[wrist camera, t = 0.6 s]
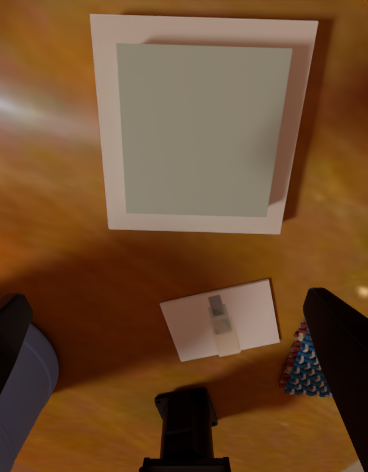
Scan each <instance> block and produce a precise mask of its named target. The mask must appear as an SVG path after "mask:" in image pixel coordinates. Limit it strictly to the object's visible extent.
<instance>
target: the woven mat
mask: <svg viewBox="0 0 368 472" xmlns="http://www.w3.org/2000/svg"><path fill="white" fill-rule="evenodd" d="M306 327H307V323H306V320H305V318H304V319H303V321H302V322H301V325H300V328H299V330H298V331H299V332H297V333H295V334H294V336H295V337H296V340H295V342H294V345H291V349H292V351H291V352H290V356H289V358H288V361H287V363H286V365H284V366H283V369H284V373H283V375H282V377H281V378H280V380H281V382H280V383H279V387H285V390H284V392H285V393H289V394H290V395H292V394H294V393H295V394H296V395H300V394H302V396H303V395H305V394H307V395H309V397H311V396H313V395H315V394H316V395H315V397H317V396H320V397H325V396H326V395H328V396H326V397H333V396H332V393H331V391H330V389H329V386H328V384H327V382H326V379H325V377H324V374H323V372H322V370H321V367H320V365H319V362H318V359H317V356H316V353H315V350H314V347H313V343H312V340H311V337H310V333H309V330H308V327H307V329H306ZM299 345H301V346H299ZM295 356H297V358H295ZM293 362H294V363H293ZM284 382H285V383H284ZM287 387H289V388H287ZM302 392H303V393H302Z"/></svg>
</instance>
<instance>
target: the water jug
mask: <svg viewBox="0 0 368 472" xmlns="http://www.w3.org/2000/svg"><path fill="white" fill-rule="evenodd" d="M58 375H59V365H58V360H57V356H56V354H55V351H54V349H53V347H52V346H51V344H50V342H49V341H48V340H47V338H46V337H45V336H44V335H43V334H42V333H41V332H40V331H39V330H38V329H37V328H36V327H35V326H34V325H32V324H31V323H30V325H29V328H28V331H27V333H26V336H25V339H24V342H23V344H22V347H21V350H20V352H19V355H18V358H17V360H16V363H15V365H14V367H13V370H12V372H11V374H10V376H9V378H8V380H7V382H6V384H5V387H4V389H3V391H2V393H1V395H0V472H10V471H11V469H12V467H13V464H14V461H15V459H16V457H17V455H18V453H19V452H20V450H21V448H22V446H23V444H24V442H25V440H26V438H27V436H28V435H29V433H30V431H31V429H32V427H33V425H34V423H35V421H36V420H37V418H38V416H39V414H40V412H41V410H42V408H43V407H44V406H45V405H46V403H47V402H48V400H49V398H50V396H51V394H52V392H53V390H54V389H55V386H56V384H57V380H58Z"/></svg>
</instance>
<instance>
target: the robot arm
mask: <svg viewBox="0 0 368 472" xmlns="http://www.w3.org/2000/svg"><path fill="white" fill-rule="evenodd" d="M303 313H304V317H305V320H306V323H307V327H308V330H309V333H310V337H311V340H312V343H313V347H314V350H315V353H316V356H317V359H318V362H319V365H320V367H321V370H322V372H323V374H324V377H325V379H326V382H327V384H328V386H329V389H330V391H331V393H332V396H333V398H334V401H335V403H336V405H337V408H338V410H339V413H340V415H341V417H342V420H343V422H344V424H345V427H346V429H347V432H348V434H349V436H350V439H351V441H352V444H353V446H354V448H355V451H356V453H357V455H358V458H359V460H360V463H361V465H362V467H363V470H364V472H368V318H367V317H365V316H364V315H362V314H361V313H360V312H358V311H357V310H355V309H354V308H352V307H351V306H350V305H348V304H347V303H345V302H344V301H342V300H341V299H340V298H338V297H337V296H335V295H334V294H333V293H331V292H330V291H328V290H327V289H325V288H310V289H309V290H308V292H307V296H306V299H305V302H304V305H303ZM32 316H33V311H32V309H31V307H30V305H29V303H28V301H27V299H26V297H25V296H24V294H22V293H9V294H6V295H5V296H3V297H1V298H0V395H1V393H2V391H3V389H4V387H5V384H6V382H7V380H8V378H9V376H10V374H11V372H12V370H13V367H14V365H15V363H16V360H17V358H18V355H19V352H20V350H21V347H22V344H23V342H24V339H25V336H26V333H27V331H28V328H29V325H30V322H31V320H32ZM155 405H156V407H157V409H158V411H159V413H160V415H161V417H162V420H163V425H162V437H161V449H160V459H150V458H144V462H143V466H142V467H141V468H139V472H231V469H230V463H229V457H223V458H214V452H213V441H212V429H211V427H213V426H216V425H217V424H218V422H217V417H216V415H215V412H214V409H213V406H212V403H211V400H210V397H209V394H208V391H207V389H205V388H200V389H194V390H189V391H183V392H178V393H172V394H167V395H162V396H157V397H155Z"/></svg>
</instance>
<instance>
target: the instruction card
mask: <svg viewBox="0 0 368 472" xmlns="http://www.w3.org/2000/svg"><path fill="white" fill-rule="evenodd" d="M160 307H161V310H162V312H163V315H164V318H165V320H166V323H167V326H168V328H169V331H170V334H171V336H172V339H173V342H174V344H175V347H176V350H177V352H178V355H179V358H180V360H181V362H183V361H188V360H193V359H198V358H203V357H208V356H213V355H218V354H219V357H221V356H226V355H231V354H237V353H241V351H240V350H244V349H249V348H254V347H259V346H264V345H269V344H274V343H279V342H280V341H279V335H278V329H277V324H276V318H275V312H274V306H273V301H272V295H271V289H270V284H269V279H263V280H259V281H254V282H250V283H246V284H241V285H237V286H232V287H228V288H223V289H219V290H214V291H210V292H206V293H201V294H197V295H192V296H188V297H183V298H179V299H175V300H170V301H166V302H161V303H160Z"/></svg>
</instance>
